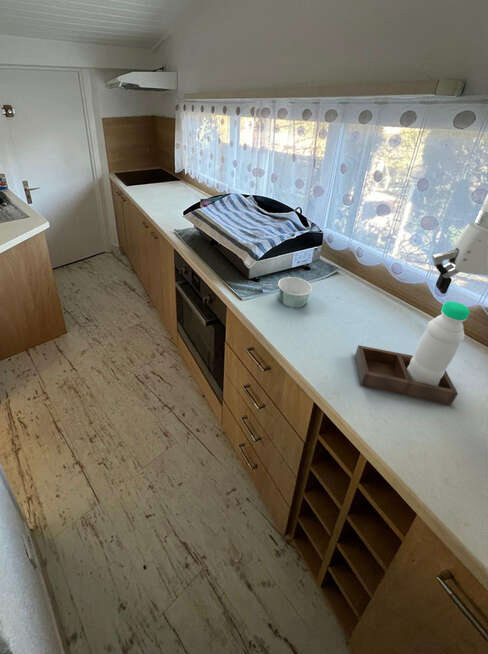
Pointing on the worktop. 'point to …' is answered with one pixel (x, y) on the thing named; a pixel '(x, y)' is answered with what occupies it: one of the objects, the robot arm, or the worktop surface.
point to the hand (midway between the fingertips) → (466, 293)
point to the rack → (398, 376)
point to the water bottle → (438, 344)
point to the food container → (294, 291)
